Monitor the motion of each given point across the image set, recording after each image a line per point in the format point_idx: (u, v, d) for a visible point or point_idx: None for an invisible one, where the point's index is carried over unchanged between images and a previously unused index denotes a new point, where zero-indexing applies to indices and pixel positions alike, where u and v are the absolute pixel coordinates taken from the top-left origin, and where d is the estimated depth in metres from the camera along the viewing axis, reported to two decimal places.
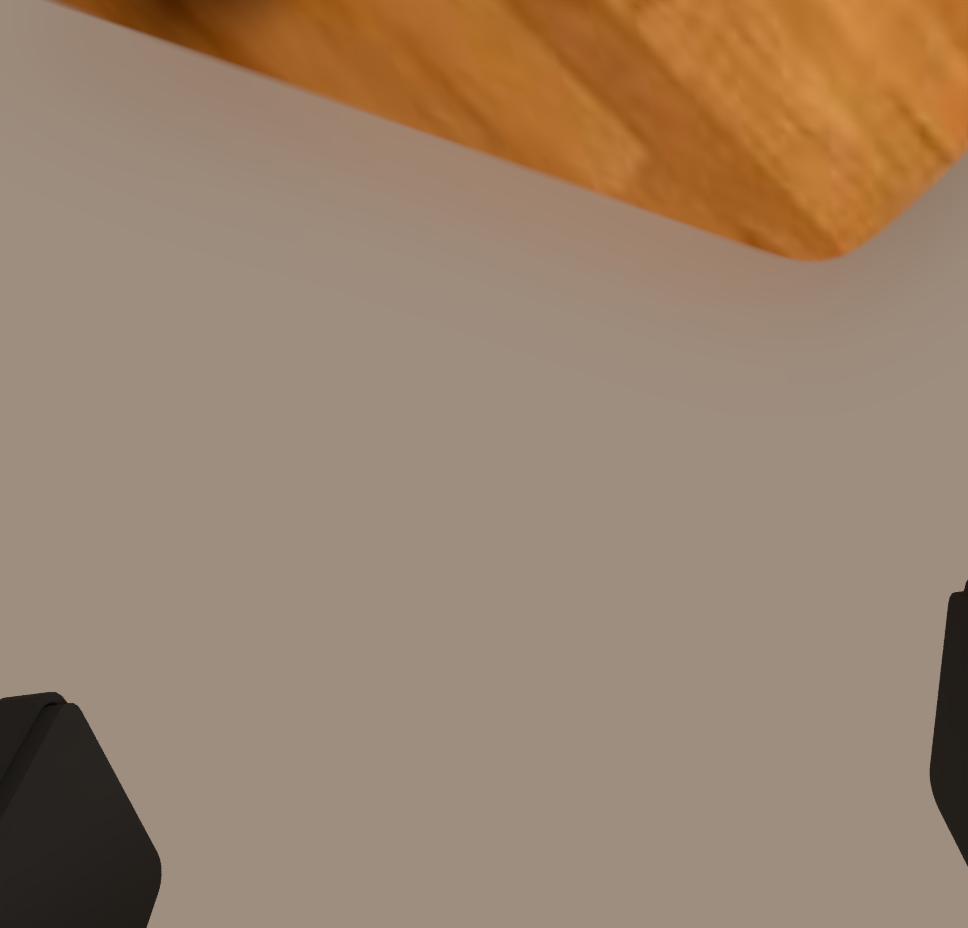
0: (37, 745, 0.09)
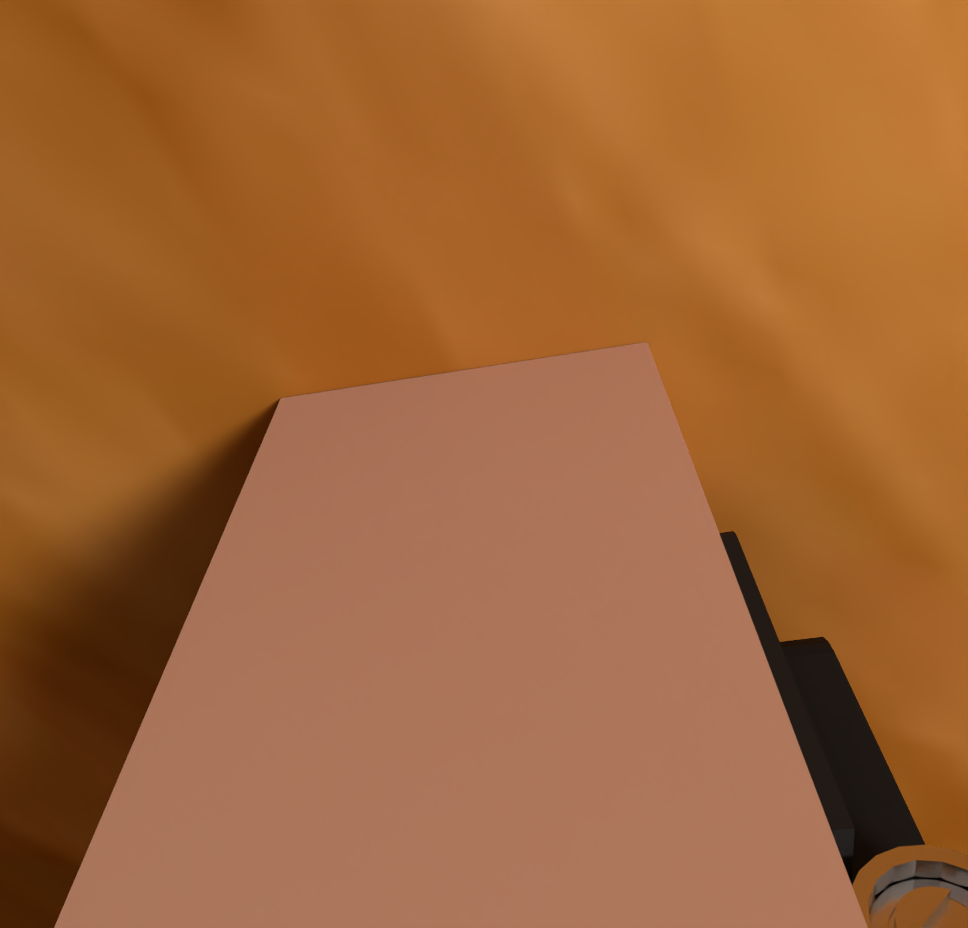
0: None
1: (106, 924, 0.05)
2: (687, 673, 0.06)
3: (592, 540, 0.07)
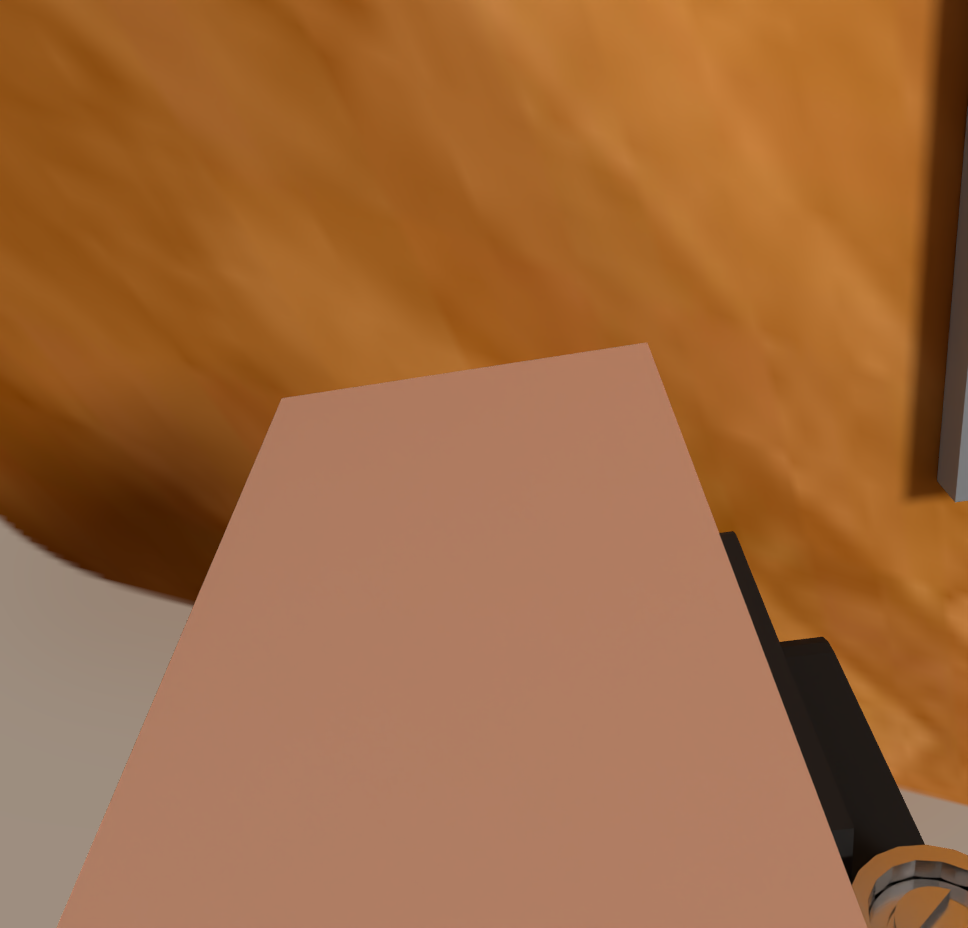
0: None
1: (110, 921, 0.05)
2: (687, 672, 0.06)
3: (593, 539, 0.07)
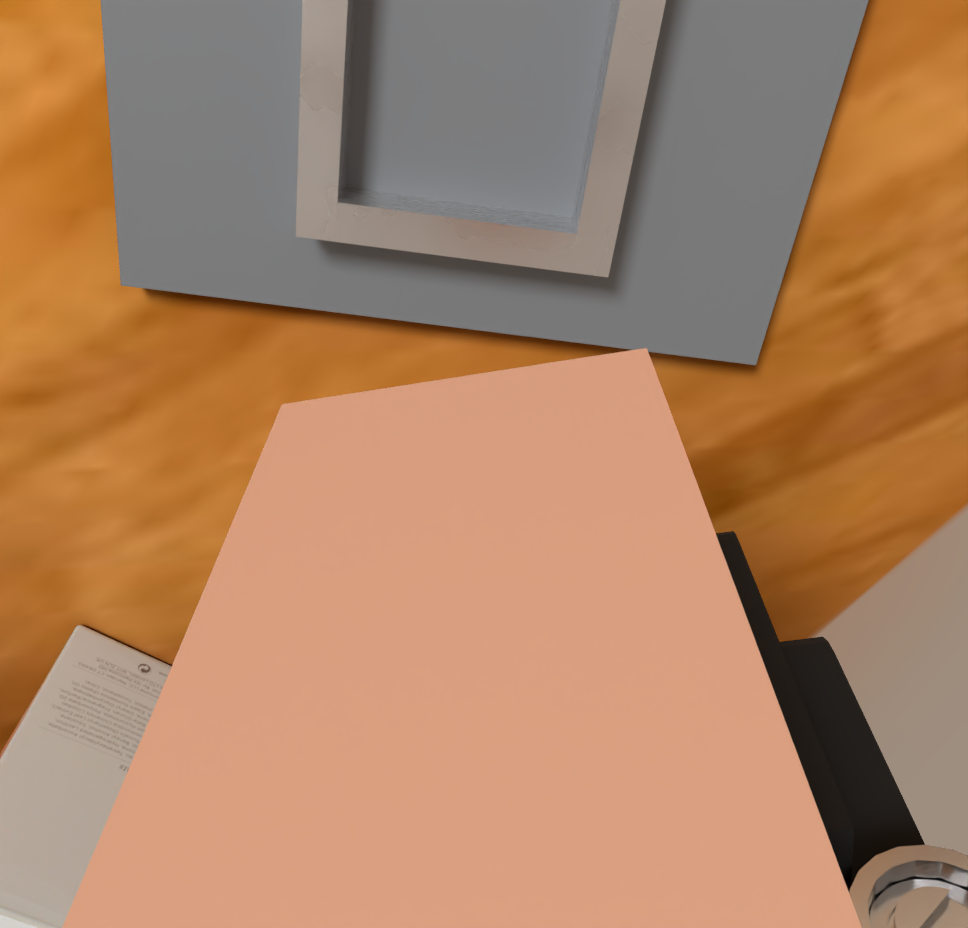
0: None
1: None
2: (687, 680, 0.06)
3: (592, 547, 0.07)
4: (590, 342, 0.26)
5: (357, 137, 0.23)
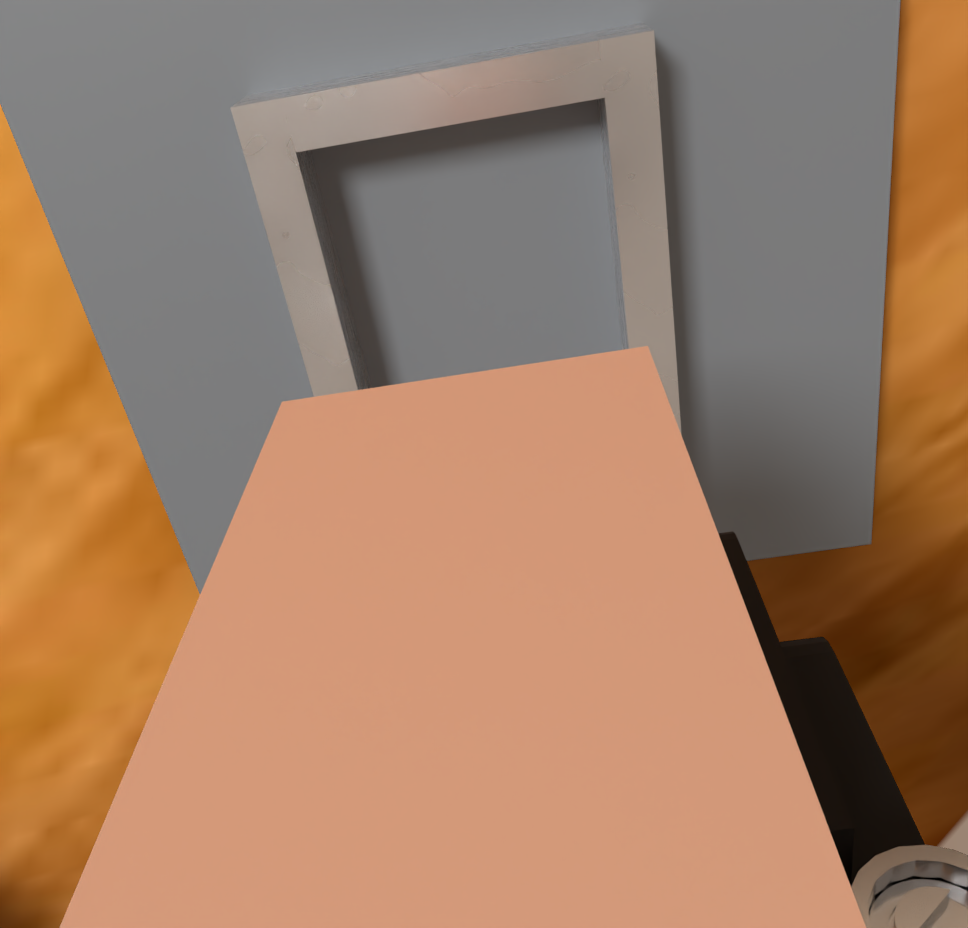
0: None
1: None
2: (688, 680, 0.06)
3: (593, 545, 0.07)
4: None
5: None
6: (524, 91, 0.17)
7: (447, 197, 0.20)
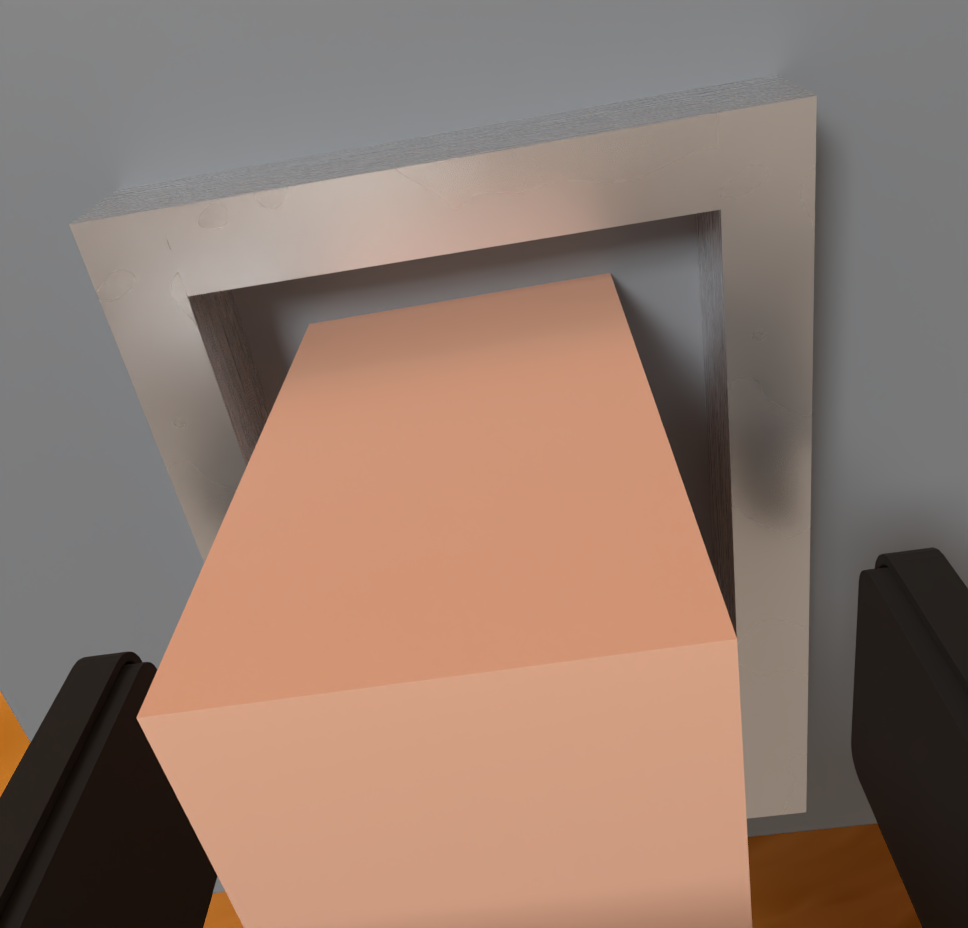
0: (121, 700, 0.09)
1: (210, 629, 0.07)
2: (620, 475, 0.08)
3: (556, 403, 0.09)
4: (789, 830, 0.17)
5: None
6: (580, 199, 0.10)
7: None
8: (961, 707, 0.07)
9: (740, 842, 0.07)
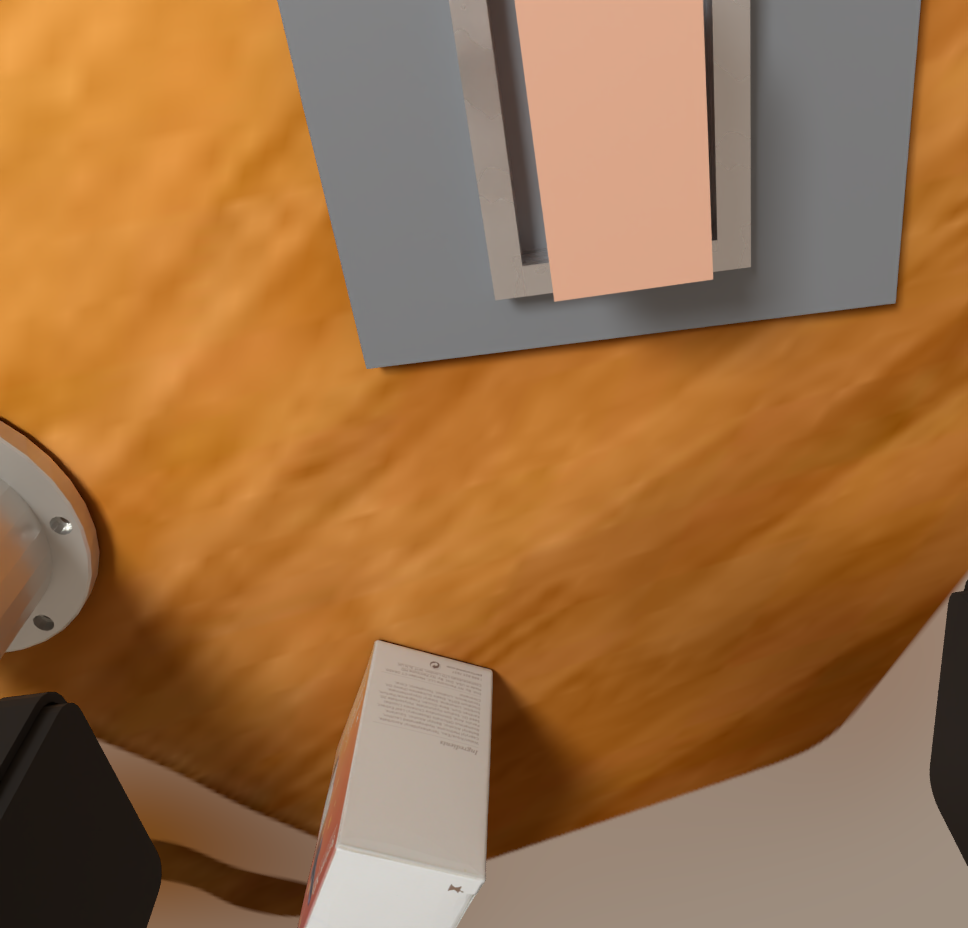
0: (37, 745, 0.09)
1: None
2: None
3: None
4: (746, 320, 0.31)
5: (524, 210, 0.29)
6: None
7: None
8: None
9: (702, 66, 0.21)
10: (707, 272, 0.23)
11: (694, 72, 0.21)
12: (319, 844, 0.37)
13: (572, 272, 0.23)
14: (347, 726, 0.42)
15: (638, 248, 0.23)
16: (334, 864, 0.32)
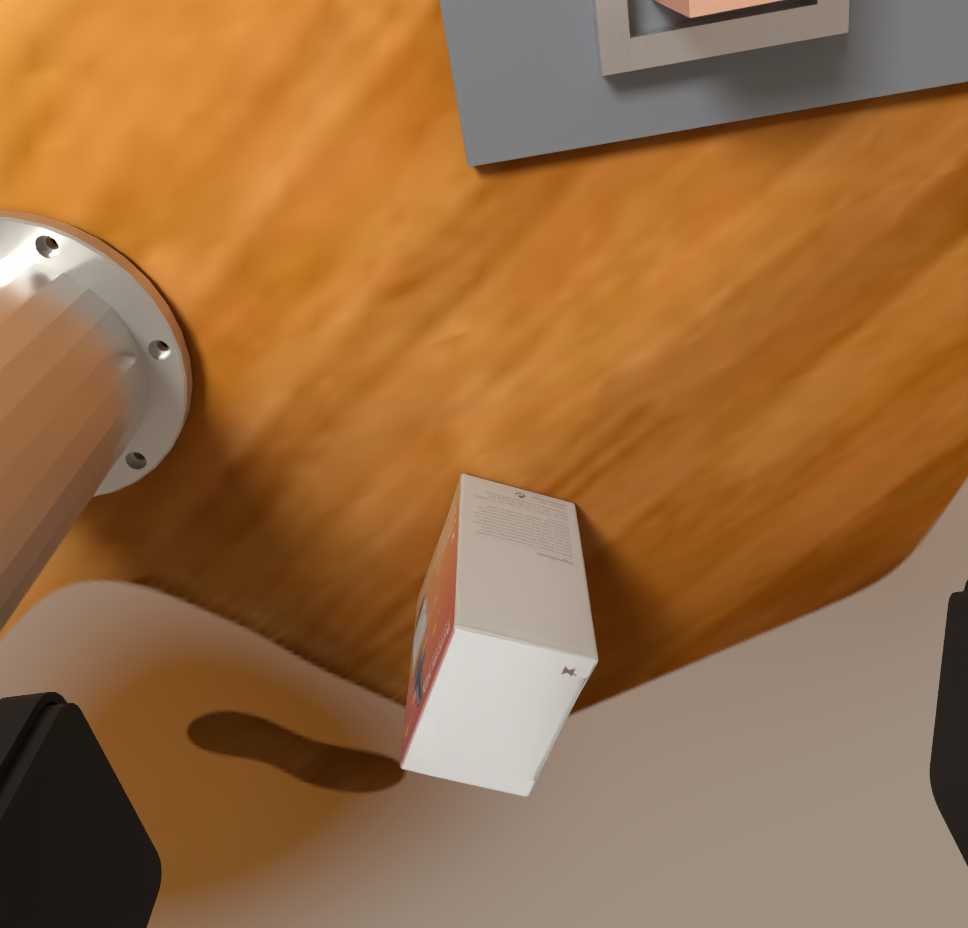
0: (37, 745, 0.09)
1: None
2: None
3: None
4: (835, 102, 0.32)
5: None
6: None
7: None
8: None
9: None
10: None
11: None
12: (420, 660, 0.38)
13: None
14: (432, 565, 0.42)
15: None
16: (451, 647, 0.33)
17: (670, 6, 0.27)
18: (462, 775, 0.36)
